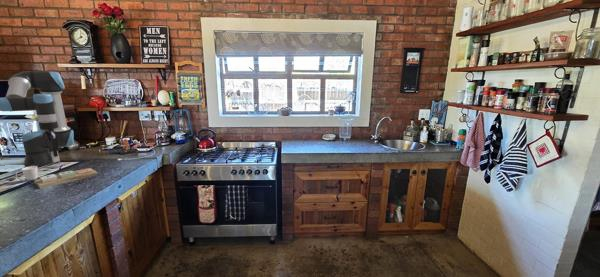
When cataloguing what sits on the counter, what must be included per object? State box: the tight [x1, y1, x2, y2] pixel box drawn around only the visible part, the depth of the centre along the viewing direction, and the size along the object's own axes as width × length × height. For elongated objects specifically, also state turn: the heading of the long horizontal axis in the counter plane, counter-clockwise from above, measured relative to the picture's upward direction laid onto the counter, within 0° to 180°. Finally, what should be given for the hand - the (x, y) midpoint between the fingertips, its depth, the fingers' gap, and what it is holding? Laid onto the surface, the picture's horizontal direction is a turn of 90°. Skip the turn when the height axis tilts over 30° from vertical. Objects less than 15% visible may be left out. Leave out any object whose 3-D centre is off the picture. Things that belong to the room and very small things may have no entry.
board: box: [33, 167, 99, 190], centre depth 151 cm, size 13×26×2 cm, turn 145°
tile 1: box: [39, 173, 57, 183], centre depth 144 cm, size 6×6×3 cm
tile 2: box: [57, 170, 75, 179], centre depth 151 cm, size 6×6×3 cm
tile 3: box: [75, 168, 91, 175], centre depth 158 cm, size 6×6×3 cm
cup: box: [15, 166, 39, 182], centre depth 148 cm, size 7×10×8 cm
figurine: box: [118, 138, 137, 156], centre depth 209 cm, size 10×10×12 cm
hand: (56, 161), depth 146 cm, fingers closed
